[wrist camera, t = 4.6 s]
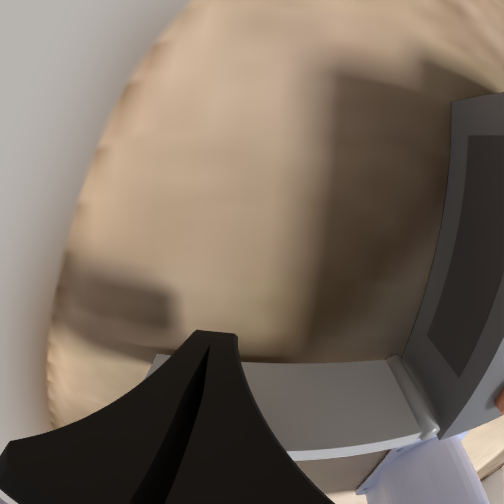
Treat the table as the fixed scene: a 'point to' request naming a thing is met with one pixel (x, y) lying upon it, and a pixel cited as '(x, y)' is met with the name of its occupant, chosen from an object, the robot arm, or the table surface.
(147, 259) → the table surface
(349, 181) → the table surface
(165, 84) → the table surface
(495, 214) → the camera body
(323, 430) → the side door
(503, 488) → the mug
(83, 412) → the table surface
